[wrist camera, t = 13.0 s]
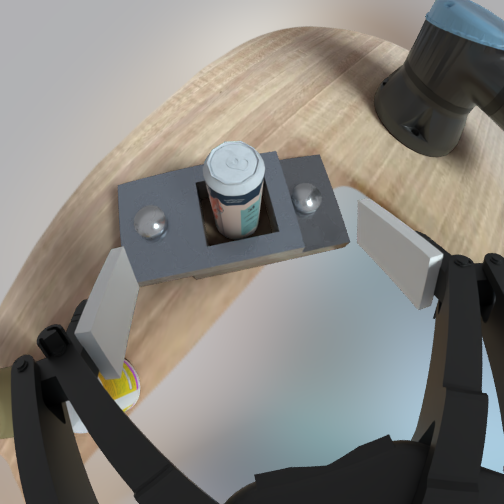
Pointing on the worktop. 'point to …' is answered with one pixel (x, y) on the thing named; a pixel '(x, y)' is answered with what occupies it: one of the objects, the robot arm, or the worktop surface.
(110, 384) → the supplement bottle
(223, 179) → the beer can
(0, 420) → the squeeze bottle
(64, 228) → the worktop surface
